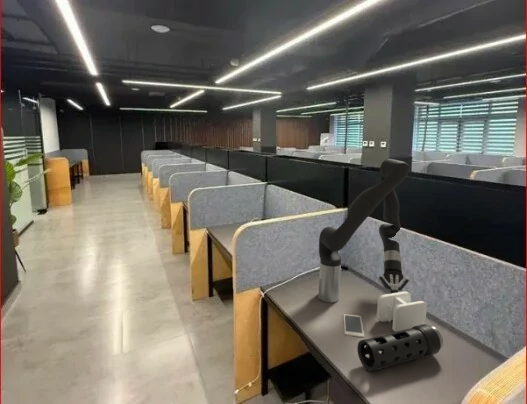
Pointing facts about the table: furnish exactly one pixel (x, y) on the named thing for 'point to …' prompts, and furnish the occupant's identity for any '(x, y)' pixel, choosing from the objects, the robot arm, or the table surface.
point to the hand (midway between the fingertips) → (394, 299)
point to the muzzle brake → (399, 346)
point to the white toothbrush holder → (401, 310)
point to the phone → (353, 325)
